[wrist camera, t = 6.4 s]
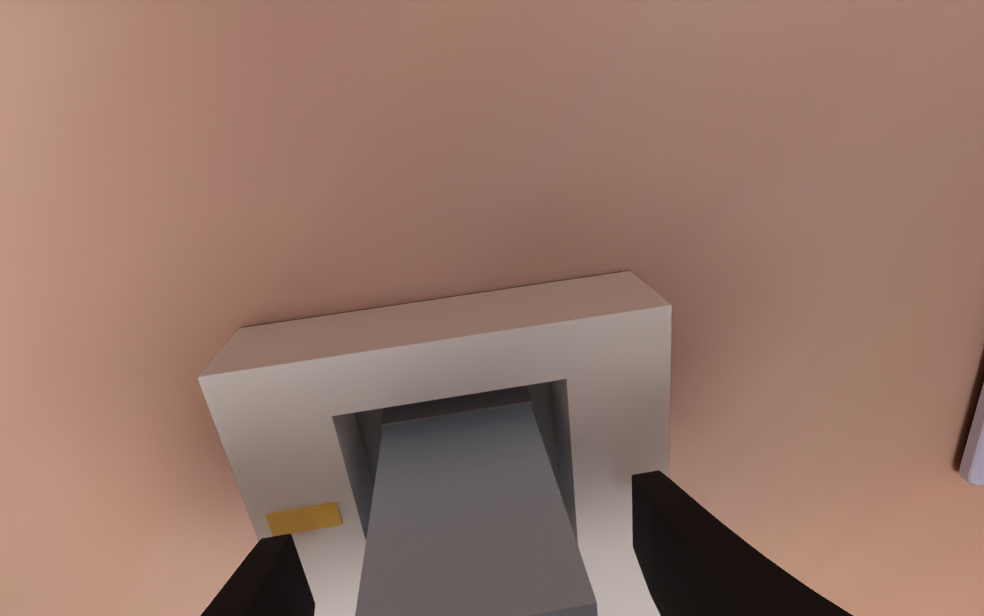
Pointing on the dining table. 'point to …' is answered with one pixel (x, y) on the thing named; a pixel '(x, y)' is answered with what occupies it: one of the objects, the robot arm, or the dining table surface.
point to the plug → (469, 515)
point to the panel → (442, 374)
